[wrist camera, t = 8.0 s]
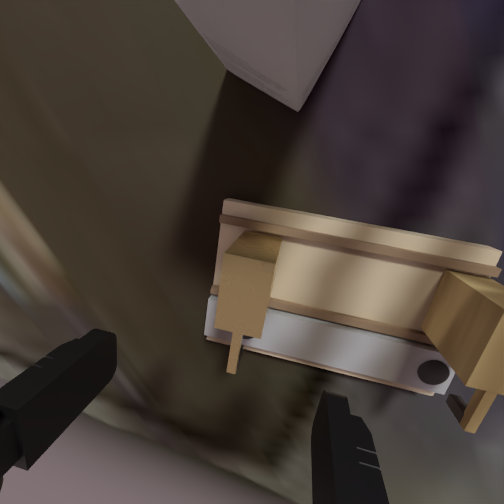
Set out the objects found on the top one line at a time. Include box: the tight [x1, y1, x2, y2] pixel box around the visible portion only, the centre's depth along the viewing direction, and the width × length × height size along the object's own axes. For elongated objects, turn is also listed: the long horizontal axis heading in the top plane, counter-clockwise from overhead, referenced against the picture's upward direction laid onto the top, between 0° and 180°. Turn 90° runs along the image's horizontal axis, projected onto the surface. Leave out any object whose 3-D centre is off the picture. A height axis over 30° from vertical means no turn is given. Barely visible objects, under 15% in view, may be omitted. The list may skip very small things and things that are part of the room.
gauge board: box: [204, 198, 504, 433], centre depth 19 cm, size 20×13×8 cm, turn 81°
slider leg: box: [214, 231, 283, 374], centre depth 19 cm, size 3×8×6 cm, turn 171°
